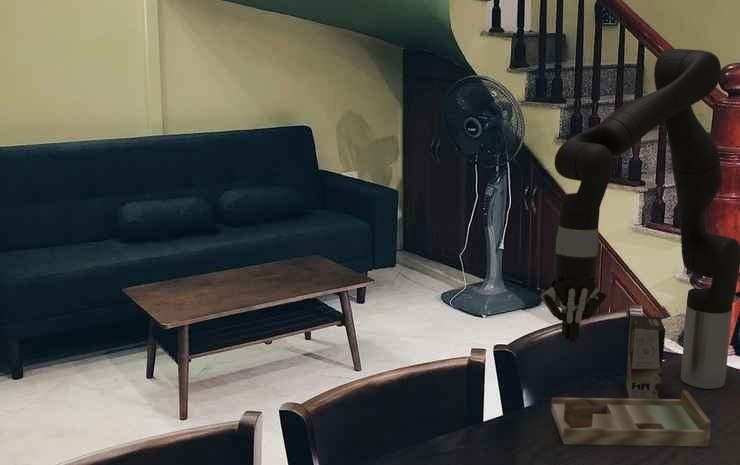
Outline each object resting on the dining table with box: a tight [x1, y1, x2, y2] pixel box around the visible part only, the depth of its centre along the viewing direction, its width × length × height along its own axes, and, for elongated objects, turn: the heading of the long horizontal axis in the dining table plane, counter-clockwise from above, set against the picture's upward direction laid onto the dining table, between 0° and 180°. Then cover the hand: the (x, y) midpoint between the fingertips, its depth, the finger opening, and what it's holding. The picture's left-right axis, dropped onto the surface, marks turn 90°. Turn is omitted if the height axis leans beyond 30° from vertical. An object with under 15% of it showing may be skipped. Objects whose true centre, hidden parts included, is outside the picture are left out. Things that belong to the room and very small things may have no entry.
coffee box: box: [625, 315, 667, 399], centre depth 186 cm, size 9×6×16 cm
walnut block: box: [564, 399, 593, 428], centre depth 169 cm, size 4×4×4 cm
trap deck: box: [550, 389, 712, 448], centre depth 171 cm, size 27×15×5 cm, turn 88°
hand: (569, 340), depth 164 cm, fingers closed
